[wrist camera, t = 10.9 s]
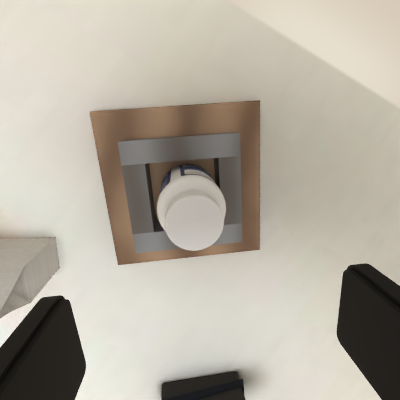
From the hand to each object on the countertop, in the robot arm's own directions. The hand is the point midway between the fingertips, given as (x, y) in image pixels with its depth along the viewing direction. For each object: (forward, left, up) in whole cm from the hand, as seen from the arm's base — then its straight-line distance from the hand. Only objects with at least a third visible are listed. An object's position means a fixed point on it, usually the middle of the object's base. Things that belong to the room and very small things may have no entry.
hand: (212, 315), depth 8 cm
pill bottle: (0, 0, -18) cm, 18 cm away
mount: (0, 0, -19) cm, 19 cm away
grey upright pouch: (+18, +6, -20) cm, 27 cm away
